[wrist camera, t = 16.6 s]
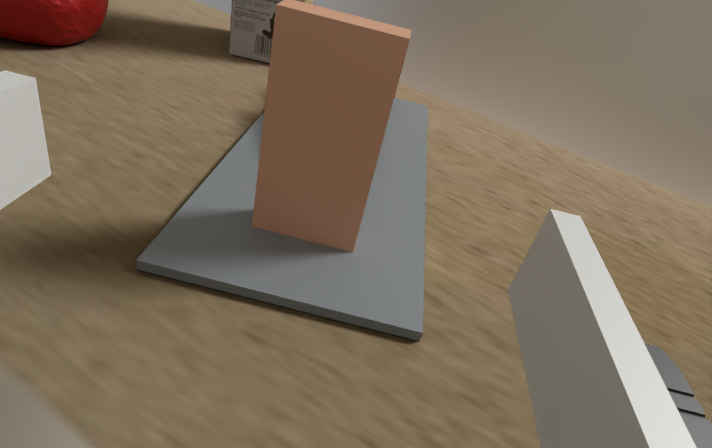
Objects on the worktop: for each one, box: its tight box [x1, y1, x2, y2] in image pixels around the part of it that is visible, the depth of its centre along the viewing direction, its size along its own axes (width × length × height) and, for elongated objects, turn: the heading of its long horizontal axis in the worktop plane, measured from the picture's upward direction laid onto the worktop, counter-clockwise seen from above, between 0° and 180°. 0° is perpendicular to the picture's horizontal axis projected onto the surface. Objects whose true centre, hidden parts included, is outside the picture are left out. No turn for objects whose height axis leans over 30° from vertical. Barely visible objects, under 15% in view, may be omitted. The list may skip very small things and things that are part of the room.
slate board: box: [136, 98, 428, 341], centre depth 31 cm, size 12×28×1 cm, turn 172°
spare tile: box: [252, 0, 411, 252], centre depth 21 cm, size 2×5×10 cm, turn 83°
